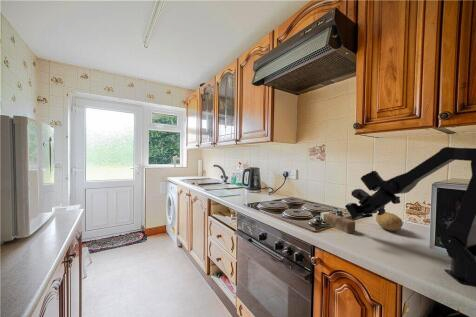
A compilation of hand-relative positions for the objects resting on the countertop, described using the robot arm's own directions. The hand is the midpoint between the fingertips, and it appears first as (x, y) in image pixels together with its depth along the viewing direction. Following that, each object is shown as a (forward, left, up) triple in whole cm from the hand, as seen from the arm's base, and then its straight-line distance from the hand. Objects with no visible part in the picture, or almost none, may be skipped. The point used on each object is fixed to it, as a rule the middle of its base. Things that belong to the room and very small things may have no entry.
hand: (352, 218), depth 92 cm
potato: (+12, -19, -7) cm, 23 cm away
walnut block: (0, 0, -4) cm, 4 cm away
